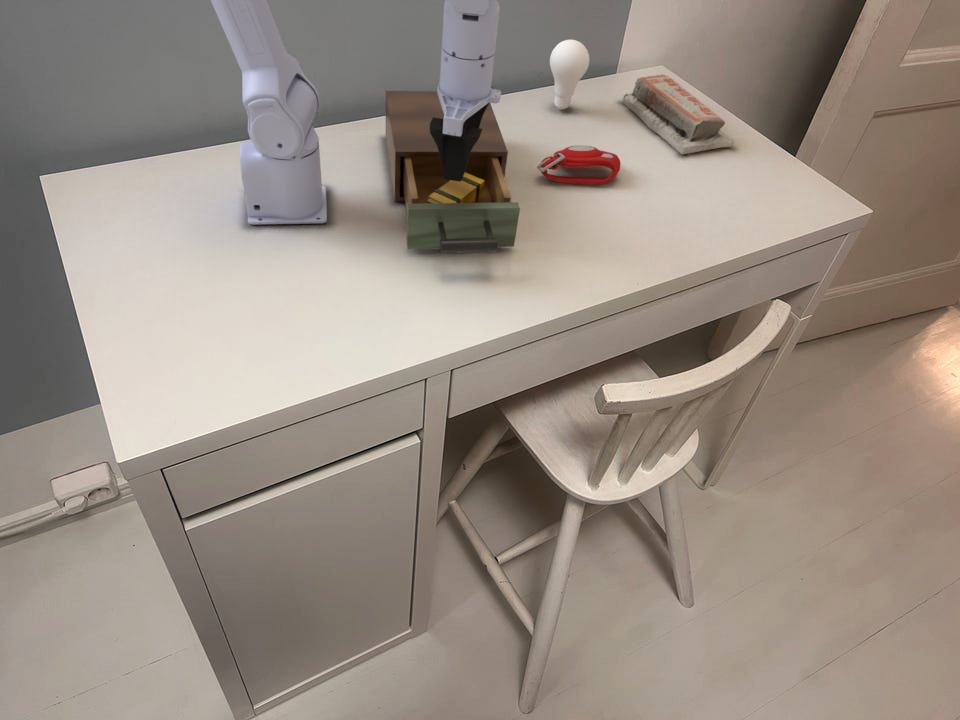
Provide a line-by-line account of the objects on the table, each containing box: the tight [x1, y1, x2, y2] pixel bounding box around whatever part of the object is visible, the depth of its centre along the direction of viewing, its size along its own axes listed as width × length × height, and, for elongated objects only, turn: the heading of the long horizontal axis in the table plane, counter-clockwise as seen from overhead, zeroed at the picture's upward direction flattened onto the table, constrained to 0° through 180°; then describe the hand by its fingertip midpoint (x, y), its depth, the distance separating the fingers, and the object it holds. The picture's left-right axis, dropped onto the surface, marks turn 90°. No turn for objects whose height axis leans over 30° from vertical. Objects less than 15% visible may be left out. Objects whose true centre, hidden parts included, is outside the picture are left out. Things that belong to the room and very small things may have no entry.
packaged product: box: [622, 74, 735, 155], centre depth 117 cm, size 18×5×10 cm
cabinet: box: [385, 90, 509, 203], centre depth 100 cm, size 16×14×7 cm
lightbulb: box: [549, 39, 590, 111], centre depth 115 cm, size 6×6×11 cm
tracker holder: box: [536, 145, 621, 185], centre depth 103 cm, size 12×4×10 cm
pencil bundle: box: [427, 172, 485, 203], centre depth 91 cm, size 8×4×4 cm, turn 148°
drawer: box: [401, 156, 521, 254], centre depth 90 cm, size 20×13×6 cm, turn 10°
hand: (458, 162), depth 87 cm, fingers open, 7 cm apart
